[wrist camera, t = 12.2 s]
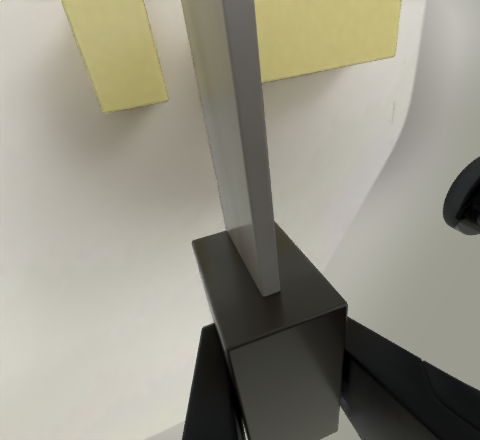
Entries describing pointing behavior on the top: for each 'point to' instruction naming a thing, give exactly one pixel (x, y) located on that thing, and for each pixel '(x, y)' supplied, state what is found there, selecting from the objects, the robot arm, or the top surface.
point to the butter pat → (117, 52)
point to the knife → (260, 248)
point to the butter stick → (323, 34)
